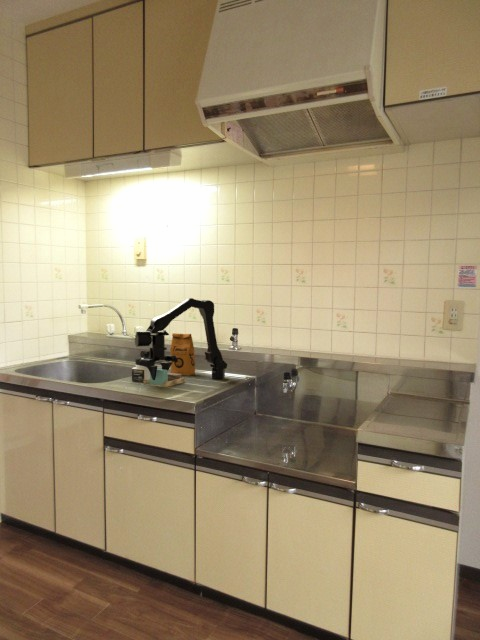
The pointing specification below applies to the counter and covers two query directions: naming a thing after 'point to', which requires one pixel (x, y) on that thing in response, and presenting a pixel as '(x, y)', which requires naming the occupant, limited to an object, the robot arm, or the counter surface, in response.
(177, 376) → the offcut top
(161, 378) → the teal rectangular block
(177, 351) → the coffee package
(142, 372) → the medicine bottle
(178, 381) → the wooden tray
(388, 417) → the counter surface
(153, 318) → the robot arm
